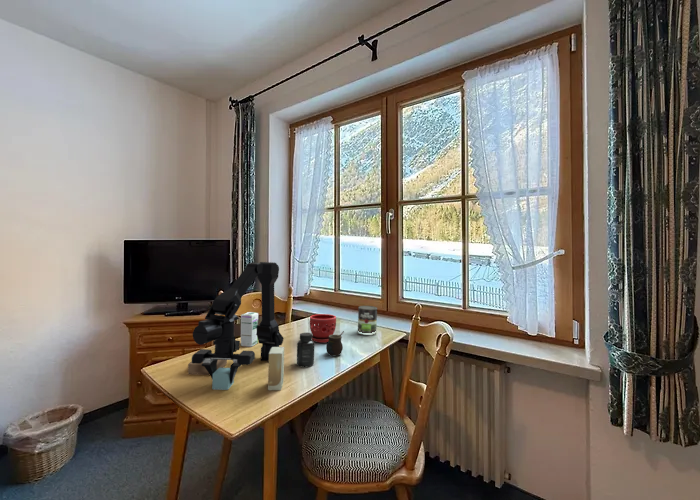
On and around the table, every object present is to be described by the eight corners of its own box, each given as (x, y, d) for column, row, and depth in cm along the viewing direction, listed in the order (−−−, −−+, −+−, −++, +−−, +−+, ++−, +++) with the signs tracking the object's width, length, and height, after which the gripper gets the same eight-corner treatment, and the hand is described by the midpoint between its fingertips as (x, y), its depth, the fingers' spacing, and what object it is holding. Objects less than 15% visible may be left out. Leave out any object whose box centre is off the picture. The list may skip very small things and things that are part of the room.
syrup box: (251, 347, 137) (252, 315, 137) (240, 345, 139) (240, 314, 138) (258, 343, 143) (259, 312, 143) (246, 342, 144) (247, 311, 144)
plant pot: (340, 339, 153) (341, 315, 153) (324, 346, 142) (325, 320, 142) (320, 334, 160) (320, 311, 160) (303, 340, 149) (304, 316, 149)
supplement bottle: (316, 362, 122) (317, 332, 122) (309, 369, 116) (310, 337, 115) (301, 359, 124) (302, 330, 124) (293, 366, 118) (294, 335, 118)
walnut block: (226, 364, 118) (227, 354, 118) (216, 375, 108) (216, 364, 108) (200, 364, 118) (200, 353, 118) (187, 375, 108) (188, 364, 108)
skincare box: (270, 381, 104) (271, 346, 104) (283, 381, 104) (284, 346, 104) (267, 390, 98) (268, 353, 97) (281, 390, 98) (282, 353, 98)
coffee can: (375, 336, 159) (376, 310, 159) (356, 335, 161) (357, 308, 161) (377, 331, 169) (378, 306, 169) (358, 329, 171) (359, 305, 171)
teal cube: (233, 382, 102) (234, 368, 102) (227, 389, 97) (228, 374, 97) (218, 382, 102) (219, 367, 102) (212, 389, 97) (212, 373, 97)
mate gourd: (323, 352, 133) (324, 330, 133) (338, 350, 137) (339, 328, 137) (329, 358, 127) (330, 334, 127) (345, 356, 130) (346, 332, 130)
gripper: (260, 329, 108) (259, 373, 108) (207, 327, 108) (206, 371, 108) (250, 339, 97) (248, 388, 97) (191, 337, 96) (190, 386, 97)
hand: (223, 382), depth 100 cm, fingers closed on teal cube, 5 cm apart
